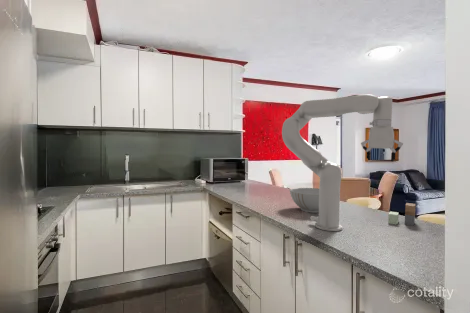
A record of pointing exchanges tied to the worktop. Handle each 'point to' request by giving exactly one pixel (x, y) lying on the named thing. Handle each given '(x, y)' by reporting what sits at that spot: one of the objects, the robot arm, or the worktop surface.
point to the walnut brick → (410, 209)
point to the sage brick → (393, 217)
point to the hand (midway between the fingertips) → (380, 160)
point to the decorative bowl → (306, 198)
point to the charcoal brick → (409, 219)
